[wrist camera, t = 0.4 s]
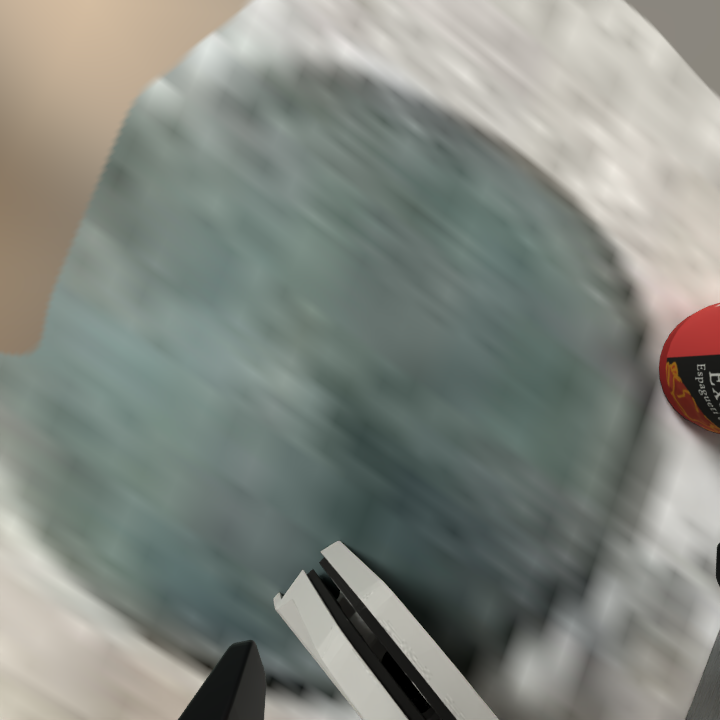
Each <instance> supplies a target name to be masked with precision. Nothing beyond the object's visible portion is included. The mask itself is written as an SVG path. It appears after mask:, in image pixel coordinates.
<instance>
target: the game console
mask: <svg viewBox="0 0 720 720" xmlns="http://www.w3.org/2000/svg"><path fill="white" fill-rule="evenodd" d="M321 553H322V554H323V556H324V558H323V559H322V560H321V561H320V562H319V563H320V565H321V566H322V567H323V568H324V570H325V571H326V572H327V574H328V575H329V576H330V578H331V579H332V580H333V582H334V583H335V584H336V586H337V587H338V588H339V590H340V594H339V598H338V599H337V600H336V598H335V597H334V596H333V594H332V593H331V591H330V590H329V589H328V588H327V586H326V585H325V584H324V583H323V581H322V580H321V579H320V577H319V576H318V575H317V574H316V572H315V571H314V570H312V571H310V572H309V573H308V574H306V573H305V572H304V570H302V571H301V573H300V574H299V576H298V577H297V578H296V580H295V581H294V582H293V584H292V585H291V587H290V588H289V589H288V591H287V592H286V594H285V595H284V596H282V595H281V593H280V592H279V593H278V594H277V595H276V596H275V598H274V599H273V600H274V605H275V609H276V611H277V612H278V613H279V615H280V616H281V617H282V618H283V620H284V621H285V622H286V623H287V625H288V626H289V627H290V628H291V630H292V631H293V632H294V634H295V635H296V636H297V637H298V639H299V640H300V641H301V642H302V644H303V645H304V646H305V647H306V649H307V650H308V651H309V653H310V654H311V655H312V656H313V658H314V659H315V660H316V661H317V663H318V664H319V665H320V666H321V668H322V669H323V670H324V672H325V673H326V674H327V675H328V677H329V678H330V679H331V680H332V682H333V683H334V684H335V686H336V687H337V688H338V689H339V691H340V692H341V693H342V694H343V696H344V697H345V698H346V699H347V701H348V702H349V703H350V705H351V706H352V707H353V708H354V710H355V711H356V712H357V713H358V715H359V716H360V717H361V718H362V720H499V719H498V718H497V716H496V715H495V714H494V713H493V711H492V710H491V709H490V708H489V707H488V705H487V704H486V703H485V702H484V701H483V699H482V698H481V697H480V696H479V695H478V693H477V692H476V691H475V690H474V688H473V687H472V686H471V685H470V684H469V682H468V681H467V680H466V679H465V678H464V676H463V675H462V674H461V673H460V671H459V670H458V669H457V668H456V667H455V665H454V664H453V663H452V662H451V661H450V659H449V658H448V657H447V656H446V655H445V653H444V652H443V651H442V650H441V649H440V647H439V646H438V645H437V644H436V643H435V641H434V640H433V639H432V638H431V637H430V635H429V634H428V633H427V632H426V631H425V629H424V628H423V627H422V626H421V625H420V623H419V622H418V621H417V620H416V619H415V618H414V616H413V615H412V614H411V613H410V612H409V610H408V609H407V608H406V607H405V606H404V604H403V603H402V602H401V601H400V600H399V599H398V597H397V596H396V595H395V594H394V593H393V592H392V591H391V589H390V588H389V587H388V586H387V585H386V584H385V583H384V582H383V581H382V580H381V579H380V578H379V577H378V576H377V575H376V574H375V573H374V572H373V571H372V570H370V569H369V568H368V567H367V566H366V565H365V564H364V563H363V562H362V561H361V560H360V559H359V558H358V557H357V556H355V555H354V554H353V553H352V552H351V551H350V550H349V549H348V548H347V547H346V546H345V545H344V544H343V543H341V542H340V541H337V542H335V543H333V544H332V545H330V546H328V547H327V548H325V549H324V550H322V551H321ZM387 651H388V653H389V654H390V655H391V656H392V658H393V659H394V660H395V661H396V663H397V664H398V665H399V667H400V668H401V669H402V670H403V672H404V673H405V674H406V675H407V677H408V678H409V679H410V680H411V682H412V683H413V684H414V685H415V687H416V688H417V689H418V691H419V692H420V693H421V694H422V696H423V697H424V698H425V699H426V701H427V702H428V703H429V704H430V706H431V707H430V708H429V709H428V710H427V711H426V712H424V713H421V712H420V711H419V710H418V708H417V707H416V706H415V704H414V703H413V702H412V701H411V699H410V698H409V697H408V696H407V694H406V693H405V692H404V691H403V689H402V688H401V687H400V686H399V684H398V683H397V682H396V681H395V679H394V678H393V677H392V675H391V674H390V673H389V672H388V670H387V669H386V668H385V667H384V665H383V664H382V663H381V662H382V659H383V656H384V654H385V653H386V652H387Z"/></svg>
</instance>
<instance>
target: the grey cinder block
mask: <svg viewBox="0 0 720 720" xmlns="http://www.w3.org/2000/svg"><path fill="white" fill-rule="evenodd" d="M686 720H720V631H719V634H718V636H717V639H716V642H715V644H714V647H713V649H712V652H711V655H710V657H709V660H708V663H707V665H706V668H705V670H704V673H703V676H702V678H701V681H700V684H699V686H698V689H697V692H696V694H695V697H694V699H693V702H692V705H691V707H690V710H689V713H688V715H687V718H686Z"/></svg>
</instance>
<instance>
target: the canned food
mask: <svg viewBox="0 0 720 720" xmlns="http://www.w3.org/2000/svg"><path fill="white" fill-rule="evenodd" d="M659 372H660V381H661V384H662V388H663V391H664V393H665V395H666V397H667V399H668V401H669V402H670V404H671V405H672V406H673V407H674V408H675V410H676V411H677V412H678V413H679V414H681V415H682V416H683V417H684V418H686V419H687V420H689V421H691V422H693V423H695V424H696V425H698V426H700V427H702V428H704V429H706V430H709V431H712V432H715V433H718V434H720V303H718V304H714V305H711V306H708V307H706V308H704V309H702V310H700V311H698V312H696V313H694V314H693V315H691V316H689V317H687V318H686V319H685V320H683V321H682V322H681V323H680V324H678V325H677V326H676V328H675V329H674V330H673V331H672V332H671V334H670V335H669V337H668V339H667V340H666V342H665V344H664V346H663V350H662V353H661V356H660V364H659Z"/></svg>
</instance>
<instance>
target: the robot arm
mask: <svg viewBox="0 0 720 720" xmlns="http://www.w3.org/2000/svg"><path fill="white" fill-rule="evenodd" d="M716 579H717V582H718V584H719V586H720V543H719V544H718V546H717V559H716ZM265 695H266V676H265V671H264V668H263V665H262V662H261V658H260V655H259V652H258V649H257V646H256V644H255V642H254V641H253V640H247V641H242V642H237V643H234V644H232V645H231V646H230V647H229V648H228V649H227V651H226V652H225V653H224V655H223V656H222V658H221V659H220V661H219V662H218V663H217V665H216V666H215V668H214V669H213V671H212V672H211V673H210V675H209V676H208V678H207V679H206V681H205V682H204V683H203V685H202V686H201V688H200V689H199V690H198V692H197V693H196V695H195V696H194V698H193V699H192V700H191V702H190V703H189V705H188V706H187V708H186V709H185V710H184V712H183V713H182V715H181V716H180V717H179V719H178V720H264V710H265Z"/></svg>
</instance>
